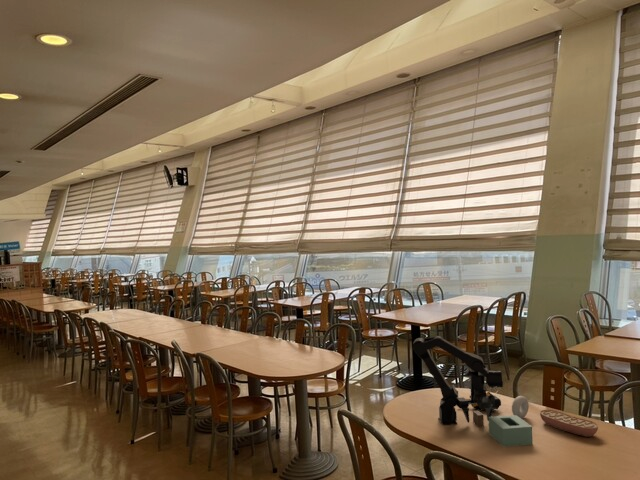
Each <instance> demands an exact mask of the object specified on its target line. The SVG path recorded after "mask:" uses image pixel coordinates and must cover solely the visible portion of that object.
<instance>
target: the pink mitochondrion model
mask: <svg viewBox="0 0 640 480" xmlns="http://www.w3.org/2000/svg"><path fill="white" fill-rule="evenodd" d="M539 417H540V419H541V420H542V422H544V423H545V424H546V425H548V426H550V427H553V428H556V429H558V430H561V431H565V432H567V433H571V434H574V435H578V436H582V437H585V438H586V437H587V438H588V437H593V436H594V435H596V434H597V432H598V430H599V425H598V424H597V423H596V422H595V421H592V420H588V419H584V418H580V417H577V416H573V415H569V414H567V413H564V412H562V411H558V410H554V409H542V410H540V411H539Z"/></svg>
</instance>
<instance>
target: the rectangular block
mask: <svg viewBox="0 0 640 480" xmlns="http://www.w3.org/2000/svg"><path fill="white" fill-rule="evenodd" d="M472 422H473V424H474V423H475V425H476V426H477V428H480V427H481V428H482V426H483V427H484V425H485V422H484V414H483V413H482V412H480V410H473V411H472Z"/></svg>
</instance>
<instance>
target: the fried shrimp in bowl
mask: <svg viewBox="0 0 640 480" xmlns="http://www.w3.org/2000/svg"><path fill="white" fill-rule="evenodd" d="M486 394H487V396H488V395H489V396H492V395H493V396H494V394H492V393H491V392H490V391H486ZM465 399H466V400H471V398H465ZM470 406H471V407H472V408H473V409H474V410H475V411H484V412H487V410H486V408H484V409H480V408H479V406H478V404H470ZM499 408H500V406H498V408H495V409H494V410H498V409H499Z"/></svg>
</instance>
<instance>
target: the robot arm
mask: <svg viewBox="0 0 640 480" xmlns="http://www.w3.org/2000/svg"><path fill="white" fill-rule="evenodd" d="M435 348H440V349H441V350H443V351H445V352H447V353H449V354H450V355H452V356H453V357H455V358H457V359H459V360H460V361H462V362H463V363H464V364H465V365H466V366H467V367H468V368H469V369H468V370H467V371H466V372H465V376H466V377H468V376H469V377H470V382H469V383H470V385H469V387H468V388H469V390H470V395H469V399H471V400H466V399H467V398H465V397H459V391H458V390H457V389H456V386H455V385H454V384H453V383H452V384H450V383H448V380H447V379H446V378H445V376H444V374H443V373H442V371H441V369H440V368H439V367H438V365H437V363H436V361H435V359H434V358H433V356H432V354H431V351H430V350H431V349H435ZM412 350H413V352H415V354H416V355H417V357H419V358H420V359H421V360H422V362H424V364H425V366H426V367H427V369H428V371H429V372H430V374H431V375H432V377H433V379H434V381H435V383H436V385H438V387H439V390H440V392H441V395H442V398H440V402H439V406H438V411H439V413H438V414H439V416H438V418H437V419H438V421H439V422H440V423H441V424H442V425H454V424H455V425H456V424H458V422H457V421H458V420H457V411H456V407H458V408H459V409H461V411H462V412H463V414H464V417H465V419H466V422H467V423H470V412H469V411H470V408H469V406H471V404H478V406H479V408H480V409H484V408H486V410H487V411H486V420H487V421H488V422H489V417H492V415H493V412H494V411H495V410H496V409H495V408H498V406H499V407H501V406H502V399H501V398H499V397H497V396H496V395H494V394H492V396H489V395H488V396H487V394H486V393H487V390H486V389H485V385H487V386H488V387H490V388H501V389H502V388H503V387H504V384H503V383H504V382H503V381H504V380H503V372H502V370H489V368H488V367H487V366H486V365H485V363H484V359H483V357H481V356H479V355H477V354H475V353H472V352H467V351H466V350H464V349H463V348H461V347H458V346H457V345H455V344H454V343H452V342H449V341H448V340H447V339H444V338H443V336H440V335H436V336H433V337H431V336H430V337H425V338H422V337H418V338H416V339H414V341H413V343H412ZM493 395H494V396H493ZM498 409H499V408H498Z"/></svg>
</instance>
